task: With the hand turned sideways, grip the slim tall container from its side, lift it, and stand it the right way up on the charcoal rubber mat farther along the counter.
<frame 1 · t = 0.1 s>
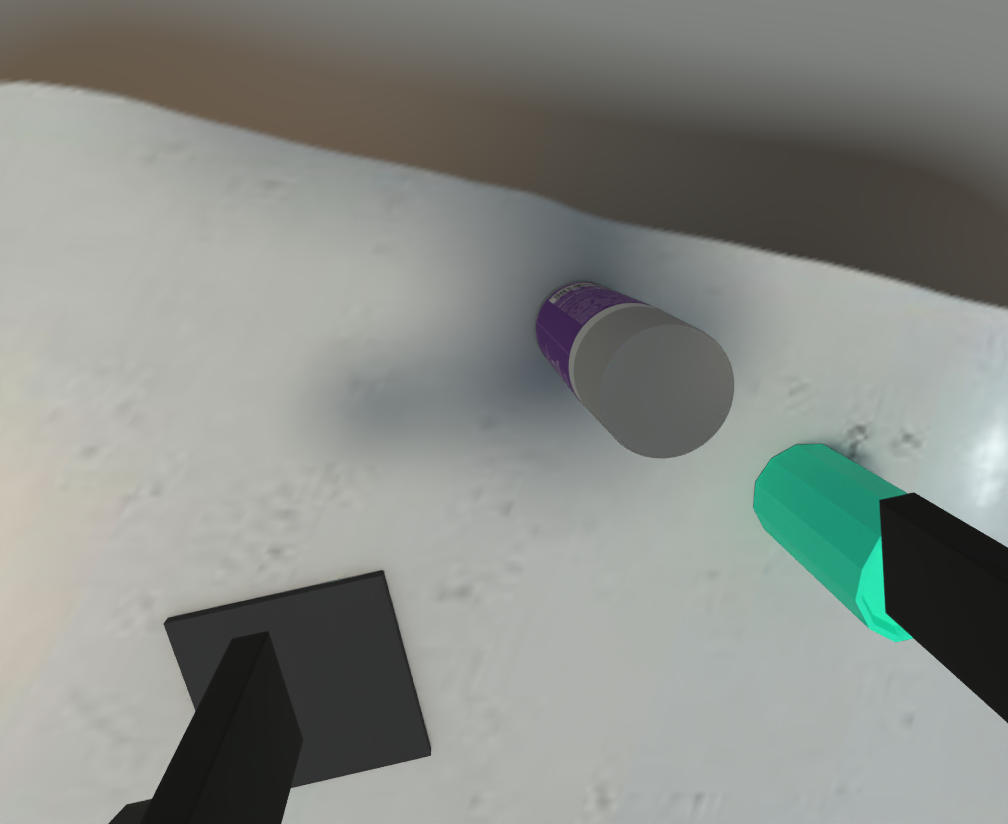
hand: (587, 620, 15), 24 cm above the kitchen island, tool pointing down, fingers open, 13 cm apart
mat: (304, 686, 42), on the kitchen island
container: (578, 326, 38), on the kitchen island
candle: (802, 491, 42), on the kitchen island
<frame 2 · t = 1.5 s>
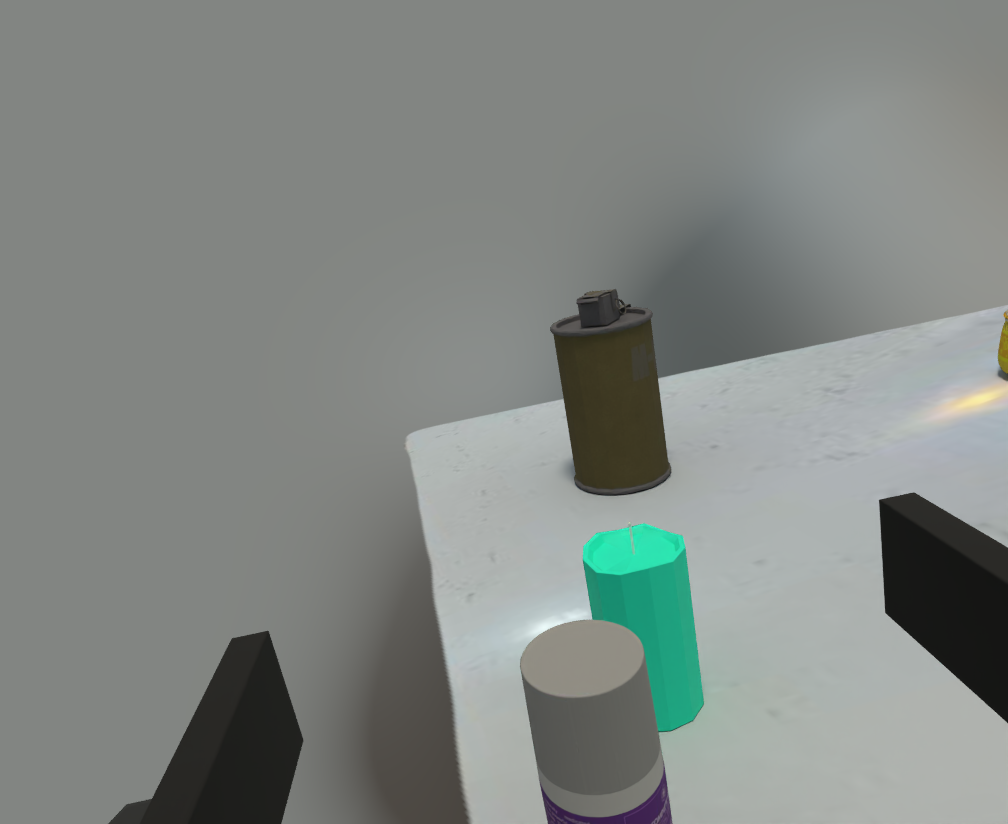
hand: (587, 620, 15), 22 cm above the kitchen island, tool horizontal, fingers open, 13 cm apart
canister: (623, 476, 80), on the kitchen island
candle: (654, 700, 45), on the kitchen island
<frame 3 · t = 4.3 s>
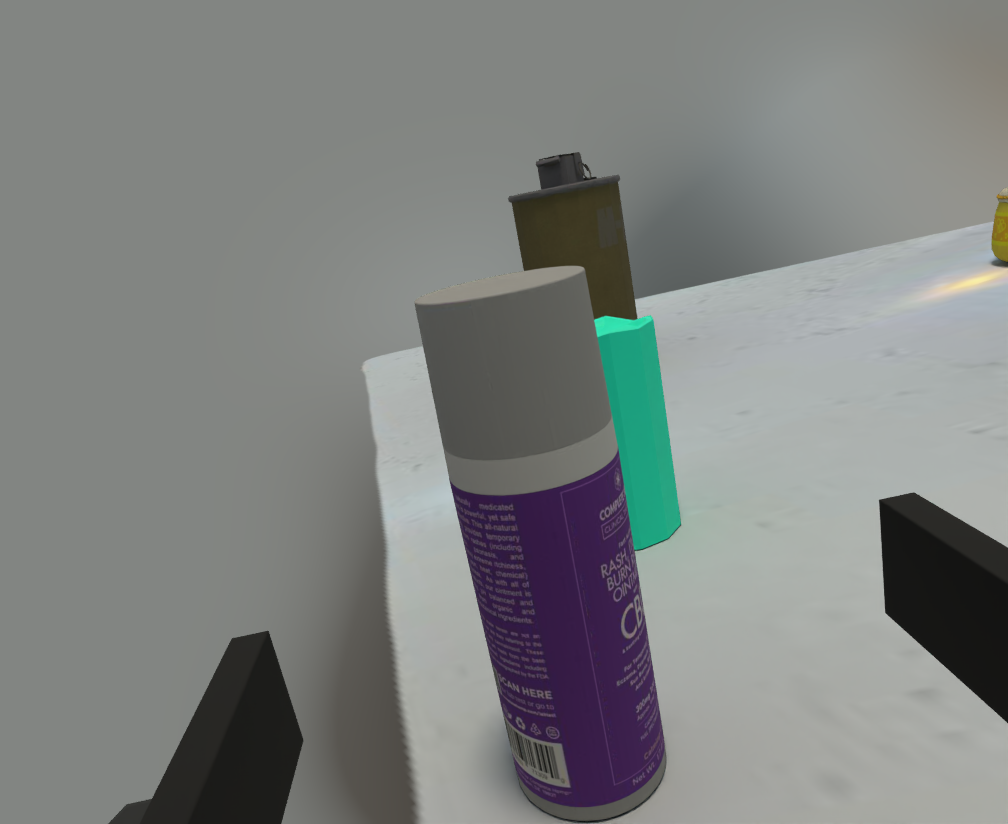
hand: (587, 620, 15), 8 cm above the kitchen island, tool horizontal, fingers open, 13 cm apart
container: (591, 765, 23), on the kitchen island
canister: (593, 367, 73), on the kitchen island
candle: (623, 528, 38), on the kitchen island
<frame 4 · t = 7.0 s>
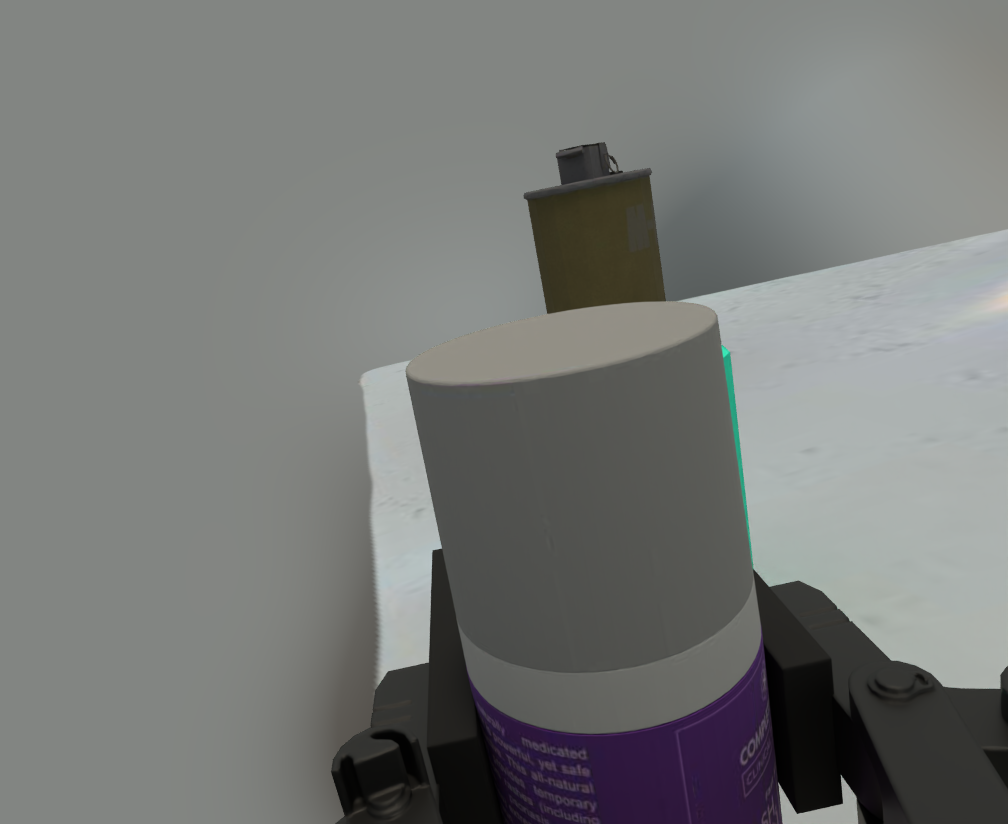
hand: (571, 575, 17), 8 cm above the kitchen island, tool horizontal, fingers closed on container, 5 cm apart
canister: (618, 386, 64), on the kitchen island
candle: (680, 615, 30), on the kitchen island
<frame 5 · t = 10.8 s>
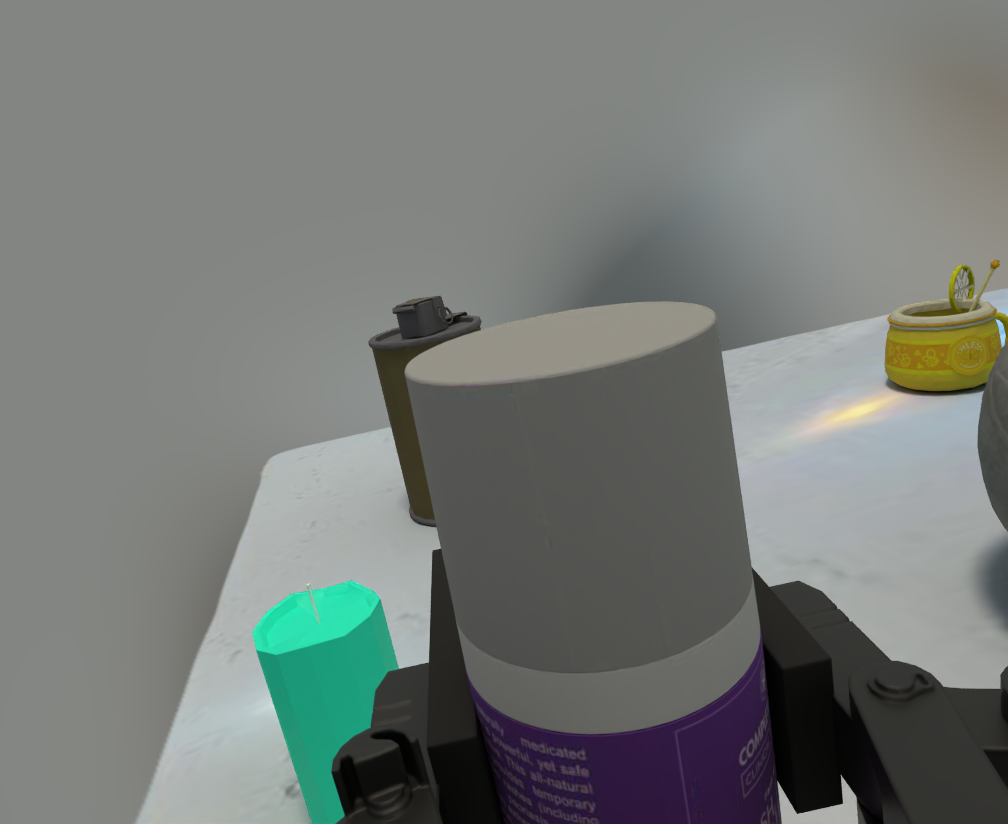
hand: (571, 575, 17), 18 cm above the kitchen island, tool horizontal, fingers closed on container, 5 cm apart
mug: (952, 381, 78), on the kitchen island
canister: (464, 503, 71), on the kitchen island
candle: (370, 797, 37), on the kitchen island
when the fingers open (9 cm above the kitchen island, at t = 14.8 s): container stays where it is, resting on mat.
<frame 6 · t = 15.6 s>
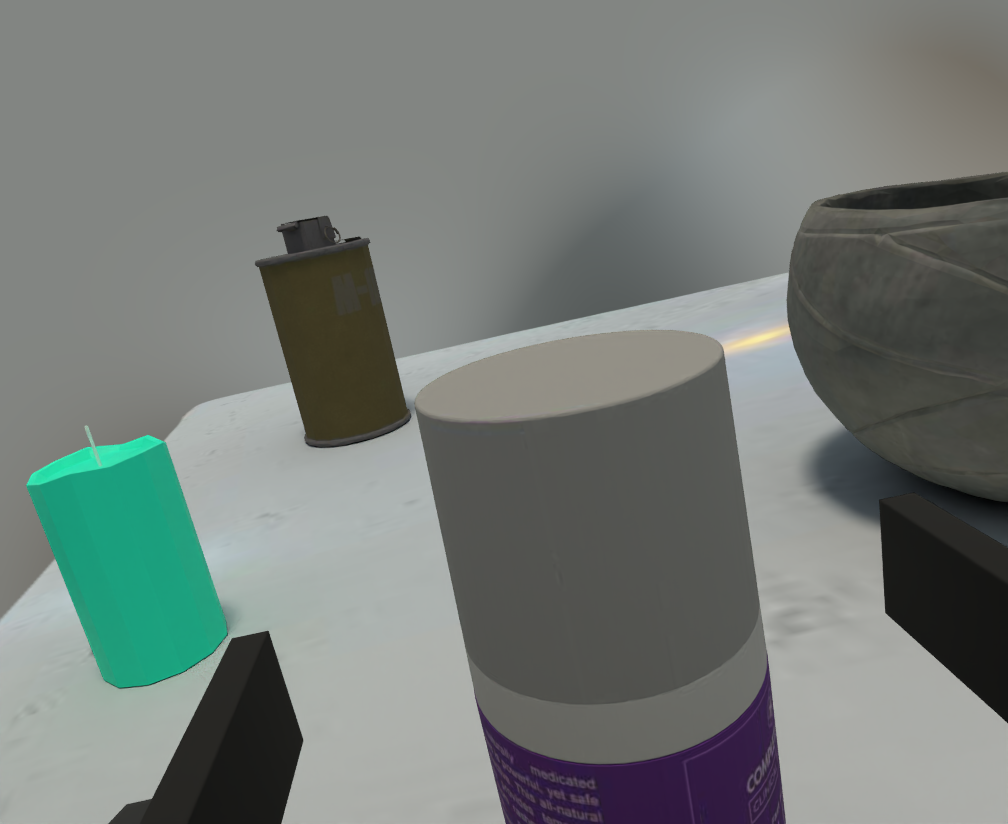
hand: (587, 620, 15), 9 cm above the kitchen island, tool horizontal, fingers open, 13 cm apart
canister: (360, 429, 71), on the kitchen island
candle: (168, 652, 37), on the kitchen island
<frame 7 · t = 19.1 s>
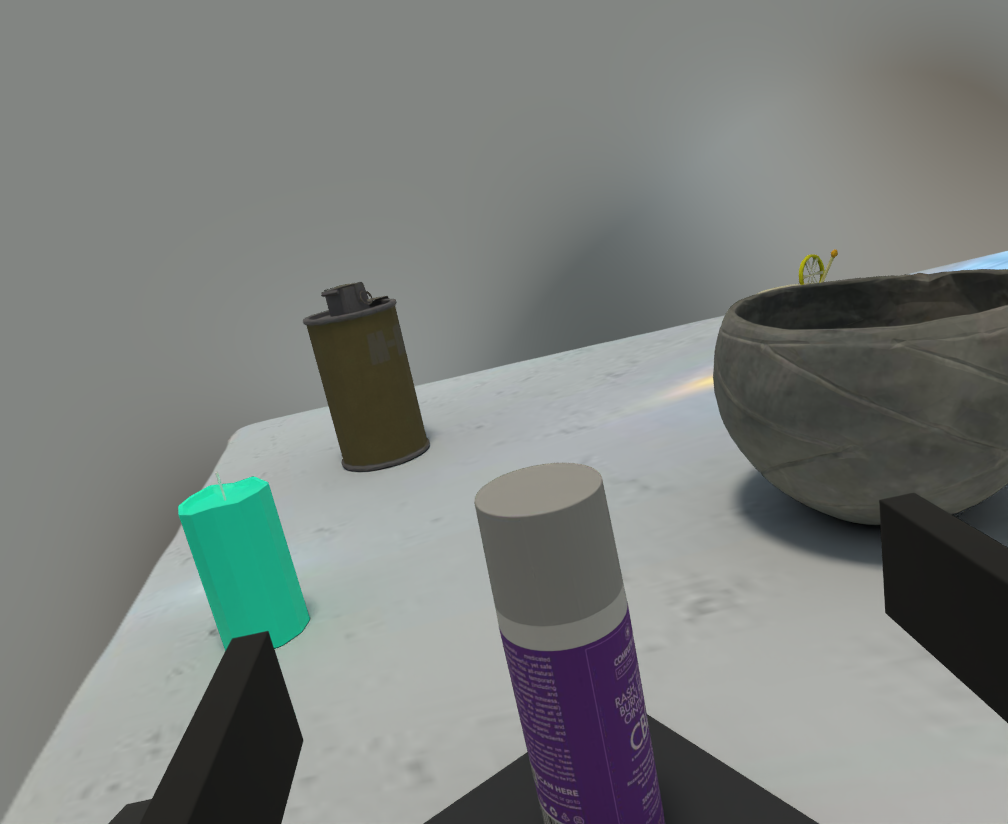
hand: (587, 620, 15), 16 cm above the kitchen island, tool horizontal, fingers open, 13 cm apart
mug: (805, 353, 93), on the kitchen island
canister: (388, 455, 86), on the kitchen island
candle: (268, 632, 51), on the kitchen island
bowl: (885, 503, 52), on the kitchen island
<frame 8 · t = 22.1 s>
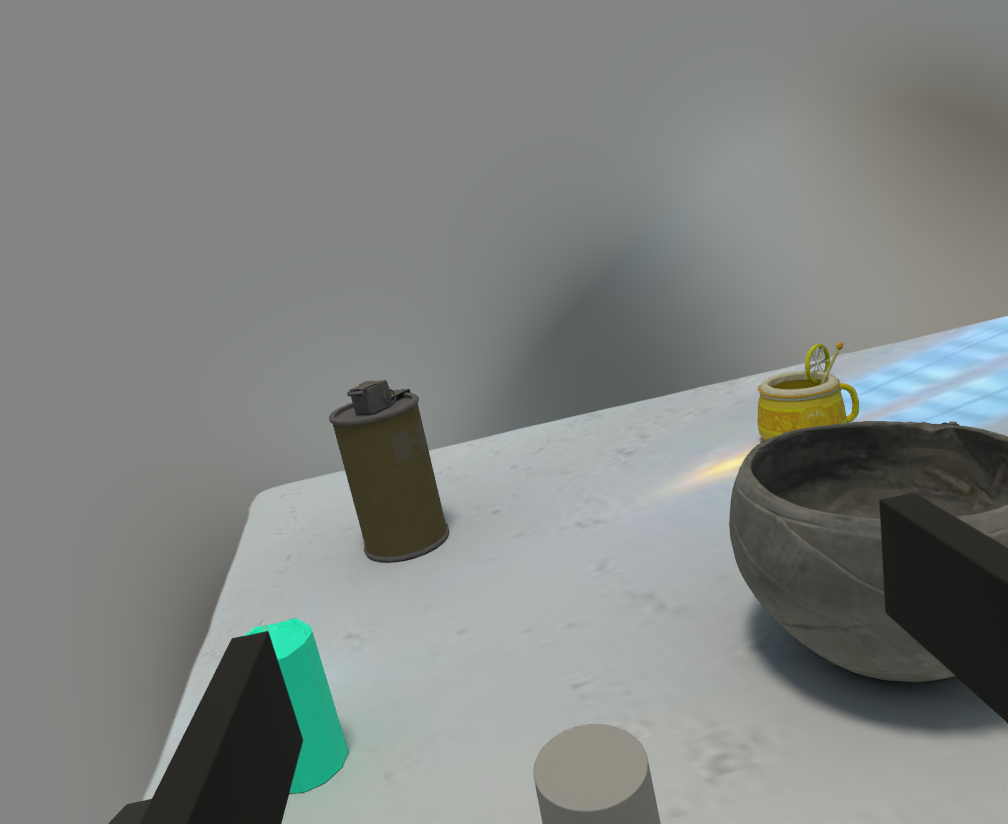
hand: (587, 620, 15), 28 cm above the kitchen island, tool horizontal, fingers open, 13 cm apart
mug: (810, 439, 96), on the kitchen island
canister: (408, 541, 89), on the kitchen island
candle: (309, 764, 54), on the kitchen island
bowl: (890, 645, 55), on the kitchen island
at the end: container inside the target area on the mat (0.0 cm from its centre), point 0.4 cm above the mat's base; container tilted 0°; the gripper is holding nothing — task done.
